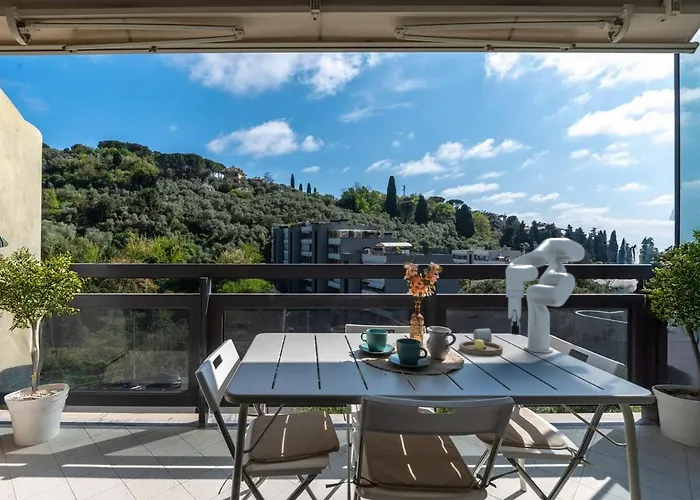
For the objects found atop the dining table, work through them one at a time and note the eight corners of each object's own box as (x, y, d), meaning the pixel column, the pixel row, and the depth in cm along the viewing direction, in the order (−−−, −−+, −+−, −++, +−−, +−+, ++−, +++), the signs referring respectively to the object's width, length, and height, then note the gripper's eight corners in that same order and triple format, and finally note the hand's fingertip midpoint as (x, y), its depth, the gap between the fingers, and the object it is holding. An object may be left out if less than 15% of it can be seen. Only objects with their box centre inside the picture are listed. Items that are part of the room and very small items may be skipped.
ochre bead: (473, 351, 191) (474, 340, 191) (475, 349, 195) (475, 339, 195) (482, 352, 190) (483, 341, 190) (484, 350, 193) (484, 340, 193)
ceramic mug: (472, 341, 218) (472, 326, 218) (488, 341, 217) (488, 327, 217) (477, 346, 207) (477, 331, 207) (493, 346, 206) (493, 331, 206)
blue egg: (511, 332, 191) (511, 321, 191) (520, 333, 190) (520, 322, 190) (510, 334, 188) (510, 323, 188) (520, 335, 186) (519, 324, 186)
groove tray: (463, 344, 210) (463, 339, 210) (504, 348, 202) (504, 343, 202) (456, 352, 193) (456, 347, 193) (500, 358, 184) (500, 352, 184)
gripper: (507, 290, 197) (508, 328, 198) (504, 295, 182) (505, 336, 183) (524, 291, 194) (525, 330, 195) (523, 296, 179) (523, 338, 180)
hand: (515, 332), depth 189 cm, fingers closed on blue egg, 3 cm apart
